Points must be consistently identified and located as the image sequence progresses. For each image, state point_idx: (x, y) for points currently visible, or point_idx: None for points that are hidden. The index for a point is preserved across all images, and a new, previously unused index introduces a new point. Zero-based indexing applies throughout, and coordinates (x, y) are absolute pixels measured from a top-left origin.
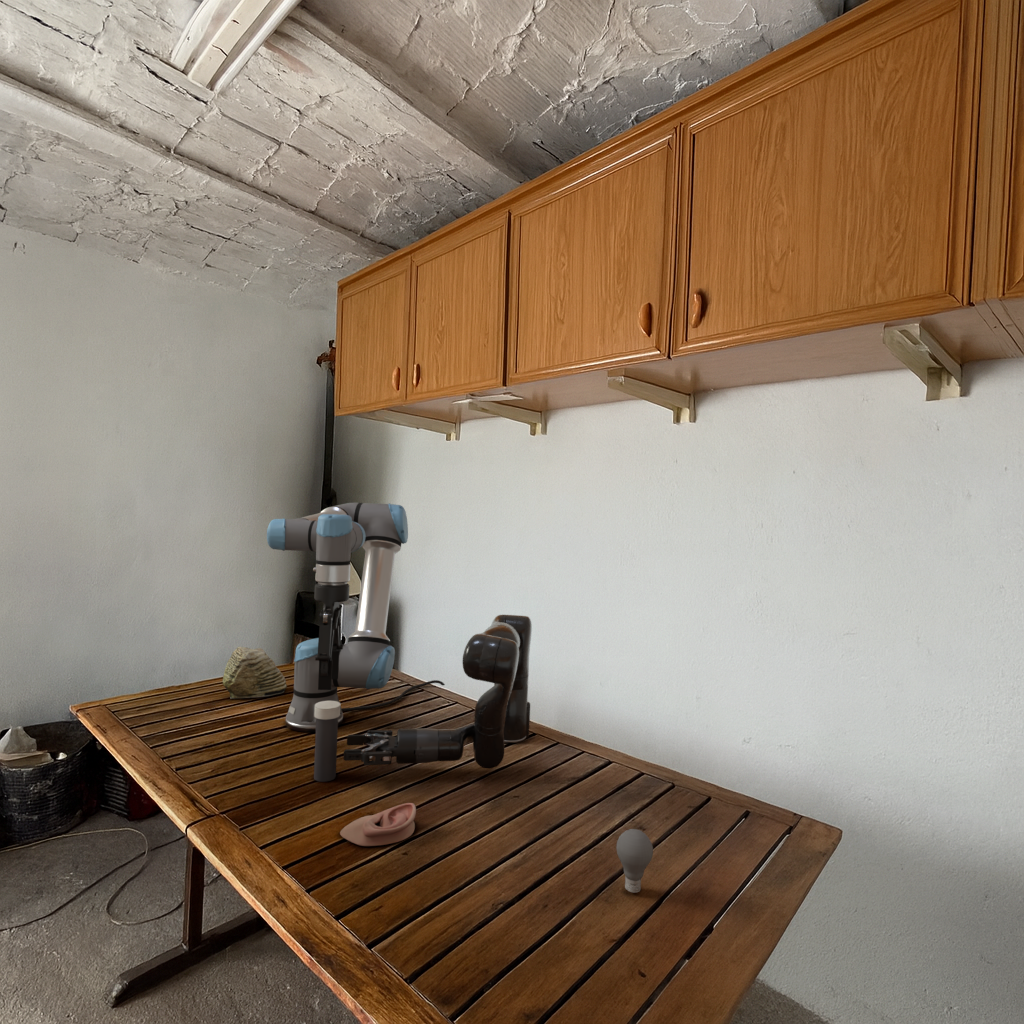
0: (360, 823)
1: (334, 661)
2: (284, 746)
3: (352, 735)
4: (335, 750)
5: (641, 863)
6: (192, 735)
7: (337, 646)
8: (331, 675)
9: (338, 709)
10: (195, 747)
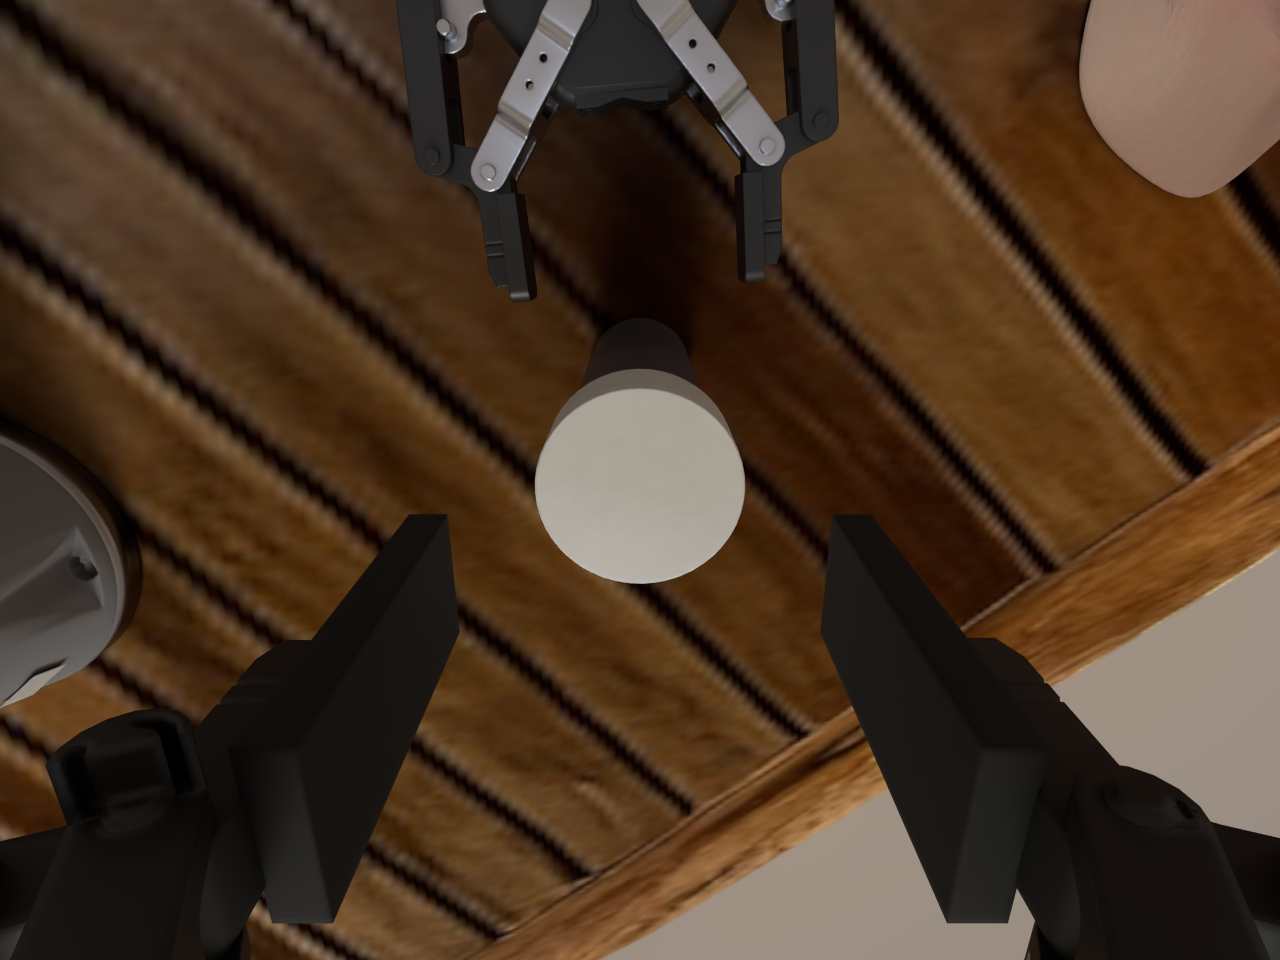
0: (1268, 94)
1: (383, 679)
2: (323, 607)
3: (516, 268)
4: (659, 343)
5: None
6: (282, 927)
7: (208, 850)
8: (913, 593)
9: (678, 389)
10: (390, 886)
